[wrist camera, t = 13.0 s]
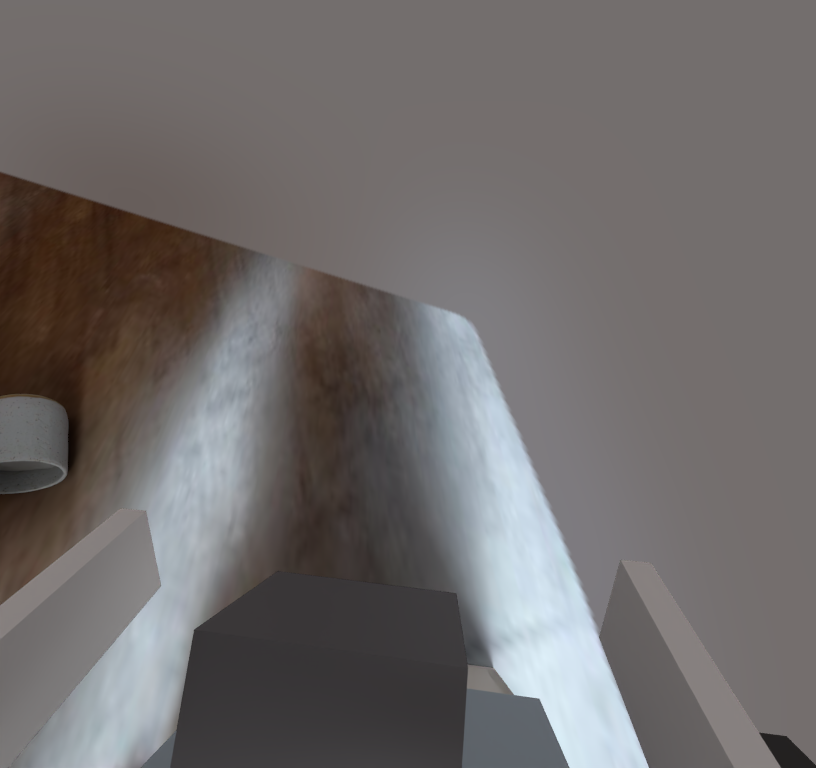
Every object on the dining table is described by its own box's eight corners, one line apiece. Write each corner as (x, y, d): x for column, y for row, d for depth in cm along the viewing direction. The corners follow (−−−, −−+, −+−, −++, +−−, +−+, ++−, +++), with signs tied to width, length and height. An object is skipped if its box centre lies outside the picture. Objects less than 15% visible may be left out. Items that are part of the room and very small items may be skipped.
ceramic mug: (85, 408, 46) (23, 378, 39) (87, 474, 43) (20, 454, 36) (-11, 441, 45) (-92, 417, 38) (-17, 512, 42) (-107, 500, 35)
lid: (925, 1663, 5) (842, 719, 6) (-305, 1280, 6) (-97, 589, 8) (538, 714, 22) (544, 530, 24) (244, 671, 24) (270, 500, 26)
